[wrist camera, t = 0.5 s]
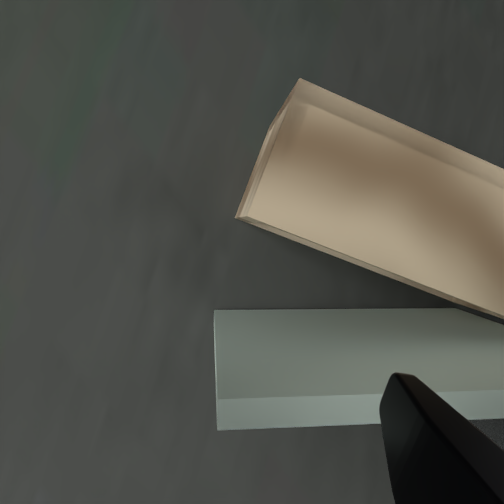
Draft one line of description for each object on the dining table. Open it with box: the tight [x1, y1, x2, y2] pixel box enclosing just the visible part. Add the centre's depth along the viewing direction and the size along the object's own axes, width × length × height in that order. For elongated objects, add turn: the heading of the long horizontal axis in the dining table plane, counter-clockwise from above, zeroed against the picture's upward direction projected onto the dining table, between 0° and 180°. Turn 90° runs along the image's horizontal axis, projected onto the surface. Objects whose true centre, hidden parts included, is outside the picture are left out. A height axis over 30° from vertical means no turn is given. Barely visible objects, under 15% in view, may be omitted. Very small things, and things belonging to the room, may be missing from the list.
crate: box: [235, 78, 504, 319], centre depth 21 cm, size 6×16×8 cm, turn 69°
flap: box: [214, 308, 504, 430], centre depth 19 cm, size 1×16×12 cm, turn 89°
